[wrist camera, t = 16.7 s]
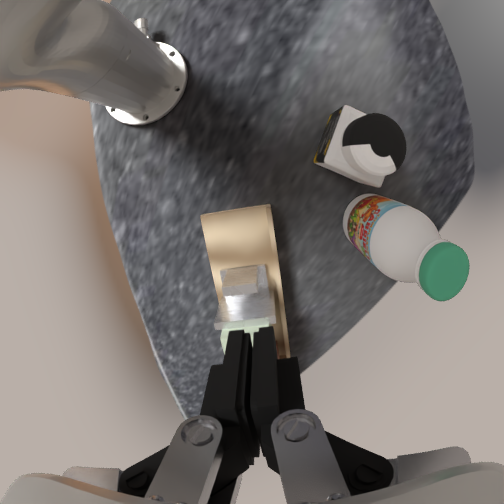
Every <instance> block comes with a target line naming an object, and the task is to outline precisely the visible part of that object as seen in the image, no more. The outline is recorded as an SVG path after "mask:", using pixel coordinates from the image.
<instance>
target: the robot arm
mask: <svg viewBox="0 0 504 504" xmlns="http://www.w3.org/2000/svg"><path fill="white" fill-rule="evenodd" d="M173 55H174V56H173ZM187 79H188V72H187V66H186V62H185V61H184V59H183V57H182V55H181V54H180V53H179V52H178V51H177V50H176V49H175V48H174V47H172V46H170V45H168V44H165V43H161V42H153V41H152V40H151V36H150V35H148V20H147V19H145V18H140V19H137V20H136V21H135V22H134V24H133V23H132V22H131V21H130V20H129V19H127V18H126V17H125V16H124V15H123V14H122V13H121V12H120V11H119V10H118V9H116V8H115V7H114V6H113V5H111V4H109V3H107V2H104V1H101V0H0V91H6V90H15V89H32V90H41V91H47V92H52V93H56V94H61V95H65V96H69V97H74V98H78V99H82V100H85V101H89V102H93V103H97V104H100V105H104V106H106V109H107V111H108V112H109V113H110V115H111V116H112V117H114V118H115V119H116V120H118V121H120V122H122V123H125V124H129V125H145V124H149V123H152V122H154V121H157V120H159V119H160V118H162V117H163V116H165V115H166V114H168V113H169V112H170V111H171V110H172V109H173V108H174V107H175V106H176V104H177V103H178V102H179V100H180V99H181V97H182V95H183V93H184V90H185V88H186V84H187ZM178 89H180V90H179V91H178V92H177V90H178ZM115 109H116V110H115ZM148 116H149V118H148V120H147V117H148ZM260 446H261V449H262V453H263V456H264V457H266V460H267V464H268V467H269V468H271V469H272V470H274V471H275V472H276V473H278V474H279V475H280V476H281V481H282V485H283V489H284V494H285V498H286V502H287V504H504V466H503V465H502V464H499V463H493V462H479V463H471V460H470V456H469V454H468V452H467V451H466V450H464V449H463V448H460V447H448V448H443V449H439V450H434V451H428V452H422V453H415V454H408V455H401V456H397V458H396V459H385V458H384V457H382V456H380V455H377V454H375V453H372V452H370V451H368V450H365V449H363V448H361V447H358V446H356V445H354V444H352V443H349V442H347V441H345V440H343V439H341V438H339V437H337V436H335V435H333V434H330V433H329V432H326V431H324V428H323V426H322V424H321V421H320V419H319V418H318V416H317V415H315V414H314V413H313V412H310V411H307V410H305V405H304V398H303V392H302V385H301V378H300V372H299V365H298V359H297V357H291V358H283V359H278V355H277V348H276V341H275V334H274V328H273V326H269V327H261V328H259V331H258V332H254V334H253V346H252V341H251V336H250V333H245V332H244V330H233V331H229V333H228V339H227V344H226V350H225V356H224V361H223V364H221V365H212V366H211V369H210V373H209V377H208V382H207V386H206V391H205V395H204V399H203V404H202V408H201V413H200V415H198V416H194V417H191V418H189V419H187V420H185V421H184V422H183V423H181V425H180V426H179V427H178V429H177V431H176V433H175V435H174V437H173V439H172V441H171V443H170V445H169V446H167V447H166V448H164V449H162V450H160V451H158V452H157V453H155V454H153V455H151V456H149V457H148V458H146V459H144V460H142V461H140V462H138V463H136V464H135V465H133V466H131V467H129V468H127V469H126V470H125V471H121V470H120V469H119V468H118V469H117V468H90V467H71V468H69V469H67V470H66V471H65V472H64V474H63V476H60V475H54V474H45V473H32V474H26V475H22V476H20V477H19V478H17V479H16V480H15V481H14V482H13V483H12V484H11V486H10V487H9V489H8V490H7V492H6V493H5V495H4V496H3V498H2V500H1V502H0V504H235V503H236V499H237V496H238V492H239V488H240V484H241V480H242V473H243V472H245V471H246V470H247V469H248V468H249V465H254V457H259V454H260Z"/></svg>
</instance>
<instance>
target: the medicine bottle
mask: <svg viewBox="0 0 504 504" xmlns="http://www.w3.org/2000/svg"><path fill="white" fill-rule="evenodd" d="M405 155H406V140H405V137H404V134H403V132H402V130H401V128H400V127H399V126H398V124H397V123H396V122H395V121H394V120H392V119H391V118H389V117H387V116H385V115H383V114H378V113H372V114H365V113H363V112H361V111H359V110H357V109H354V108H352V107H350V106H348V105H344V106H343V107H341V108H340V109H338V110H337V111H335V112H334V113H332V114H331V115H330V117H329V120H328V123H327V125H326V128H325V131H324V133H323V136H322V139H321V142H320V144H319V147H318V150H317V152H316V155H315V158H314V163H315V164H317V165H320V166H322V167H324V168H327V169H329V170H332V171H334V172H336V173H338V174H341V175H343V176H345V177H348V178H350V179H352V180H354V181H356V182H359V183H362V184H366V185H370V186H374V187H378V188H379V187H381V186H382V183H383V180H384V178H385V175H389V174H391V173H393V172H395V171H396V170H397V169H398V168H399V167H400V166H401V165H402V163H403V161H404V159H405Z"/></svg>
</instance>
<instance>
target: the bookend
mask: <svg viewBox="0 0 504 504" xmlns="http://www.w3.org/2000/svg"><path fill="white" fill-rule="evenodd" d="M220 276H221V280H222V287H221V288H222V292H223V297H221V301H220V304H219V308H218V311H217V314H216V318H215V321H214V325H215V329H216V330H222V329H232V328H242V327H251V326H260V325H268V324H276V313H275V299H274V291H273V290H271V291H269V287H268V281H267V274H266V268H265V264H258V265H250V266H243V267H236V268H228V269H221V270H220Z"/></svg>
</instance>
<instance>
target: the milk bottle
mask: <svg viewBox="0 0 504 504" xmlns="http://www.w3.org/2000/svg"><path fill="white" fill-rule="evenodd" d="M343 229H344V233H345V235H346V237H347V239H348V240H349V241H350V242H351V243H352V244H353V245H354V246H355V247H356V248H357V249H358V250H359V251H360V252H361V253H362V254H363V255H364V256H365V257H366V258H367V259H368V260H369V261H370V262H371V263H372V264H373V265H374V266H375V267H376V268H377V269H378V270H380V271H381V272H382V273H383V274H385V275H386V276H388V277H390V278H391V279H394V280H396V281H400V282H417V284H418V285H419V287H420V288H421V289H422V290H424V291H425V293H426V294H427V295H429V296H430V297H431V298H433V299H434V300H437V301H446V300H449V299H451V298H453V297H454V296H455V295H457V294H458V293H459V292H460V290H461V289H462V288H463V286H464V284H465V282H466V280H467V277H468V274H469V260H468V257H467V254H466V253H465V252H464V250H463V249H462V248H460V247H459V246H457V245H455V244H453V243H451V242H449V241H447V240H443V239H441V237H440V235H439V232H438V230H437V228H436V226H435V225H434V223H433V222H432V221H431V220H430V219H429V218H428V217H427V216H426V215H425V214H423V213H422V212H421V211H419V210H417V209H415V208H413V207H411V206H408V205H406V204H403V203H400V202H398V201H395V200H392V199H389V198H386V197H383V196H380V195H376V194H363V195H360V196H358V197H356V198H355V199H354V200H352V201H351V202H350V204H349V205H348V206H347V208H346V210H345V213H344V216H343Z"/></svg>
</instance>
